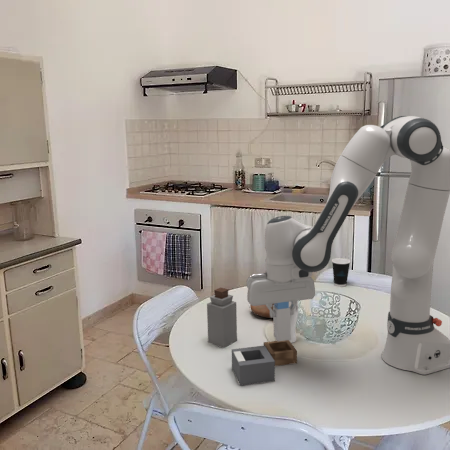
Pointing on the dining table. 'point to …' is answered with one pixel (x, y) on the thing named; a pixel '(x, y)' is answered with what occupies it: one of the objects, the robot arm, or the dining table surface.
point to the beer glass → (293, 323)
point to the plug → (282, 321)
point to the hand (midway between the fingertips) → (281, 315)
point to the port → (253, 365)
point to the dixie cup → (340, 271)
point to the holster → (282, 352)
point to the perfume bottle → (222, 319)
